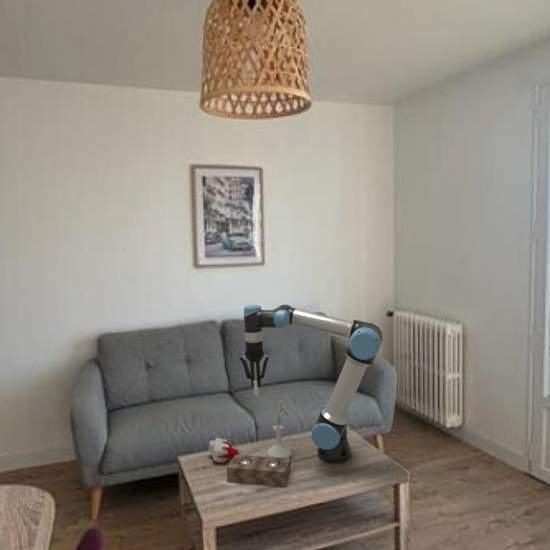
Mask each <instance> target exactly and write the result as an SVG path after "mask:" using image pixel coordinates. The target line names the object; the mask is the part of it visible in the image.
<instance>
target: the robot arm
mask: <svg viewBox="0 0 550 550" xmlns="http://www.w3.org/2000/svg"><path fill="white" fill-rule="evenodd" d="M243 324H244V340H245V342H244V343H245V352H244V355H241V356H240V358H239V360H240V361H241V363H242V366H243V369H244V372H245V376H246V379H249V380H250V383H251V387H252V388H253V393H254V394H253V395H254V396H258V395H259V394H260V390H259V388H260V387H261V385H262V383H261V382H262V381H261V380H262V379H264V378H265V374H266V371H267V366H268V361H269V359H270V355H266V354H265V352H264V342H263V328H268V329H269V328H270V329H271V328H272V329H273V328H274V329H275V328H276V329H284V328H288V326H289V325H290V326H291V325H292V326H296V327H300V328H305V329H308V330H313V331H316V332H321V333H324V334H328V335H332V336H335V337H336V336H337V337H341V338H345V339H347V340H348V345H347V348H346V350H345V353H344V354H345V355H346V360H345V363H344V365H343V367H342V368H341V372H340V374H339V377H338V379H337V382H336V384H335V386H334V389H333V390H332V391H333V392H332V394H331V395H330V398H329V401H328V402H327V403H324V404H322V405H321V406H320V409H319V415H318V417H317V420H316V422H315V425H314V426H313V427H312V429H311V440H312V441H313V443H314V444H315V445H316V446H317V458H319V459H320V460H321V461H323V462H327V463H331V464H332V463H334V464H337V463H338V464H339V463H344V462H347V461H349V460H351V458H352V448H351V446H350V443H349V441H348V412H349V409H350V407H351V404H352V402H353V401H354V398H355V395H356V393H357V391H358V389H359V386H360V384H361V382H362V379H363V376H364V374H365V372H366V369H367V368H368V367H369V366H372V365H373V363H374V361H375V358H376V356H377V354H378V353H379V350H380V347H381V344H382V342H383V337H384V336H383V332H382V329H380V327H379V326H378V325H376V324H374V323H373V322H372V323H371V322H367V321H362V320H358V319H352V320H347V319H343V318H339V317H334V316H329V315H325V314H320V313H317V312H313V311H309V310H305V309H299V308H296V307H293V306H291V305H290V304H281V305H279V306H278V307H276V308H274V309H262V307H261V305H259V304H247V305H245V306H244V307H243ZM262 359H263V363H262V369H261V360H262ZM247 360H248V361H247ZM248 362H249V364H248ZM249 365H250V366H249ZM249 367H250V368H249ZM255 369H256V370H255ZM255 371H256V372H255ZM255 374H256V375H255Z"/></svg>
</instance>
